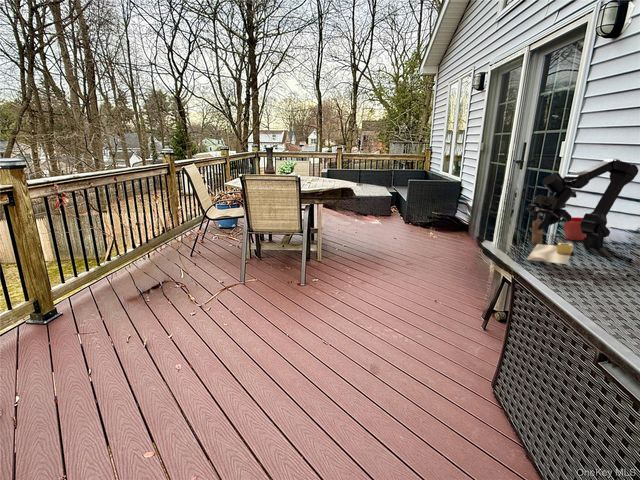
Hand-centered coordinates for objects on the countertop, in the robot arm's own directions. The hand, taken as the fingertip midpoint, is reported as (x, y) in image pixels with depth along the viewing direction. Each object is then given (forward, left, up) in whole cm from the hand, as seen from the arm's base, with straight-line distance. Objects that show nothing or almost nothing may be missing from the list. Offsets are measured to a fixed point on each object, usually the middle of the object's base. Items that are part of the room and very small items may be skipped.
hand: (534, 228), depth 145 cm
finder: (-10, -10, -12) cm, 19 cm away
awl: (-1, -1, -7) cm, 7 cm away
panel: (-6, -6, -13) cm, 15 cm away
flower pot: (-12, -40, -13) cm, 44 cm away
